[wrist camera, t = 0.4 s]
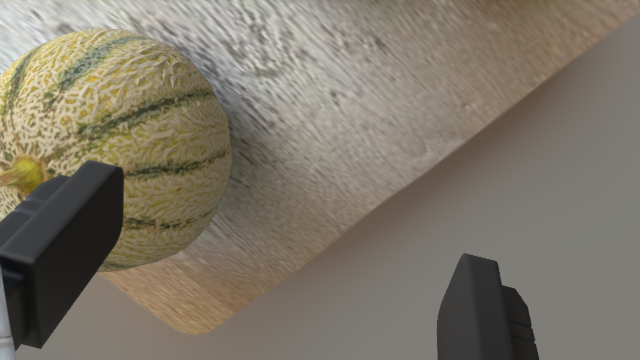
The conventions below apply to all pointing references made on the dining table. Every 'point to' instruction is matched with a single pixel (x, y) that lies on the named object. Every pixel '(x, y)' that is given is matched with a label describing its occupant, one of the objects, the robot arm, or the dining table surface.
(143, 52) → the cantaloupe
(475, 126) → the dining table surface
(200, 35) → the dining table surface
